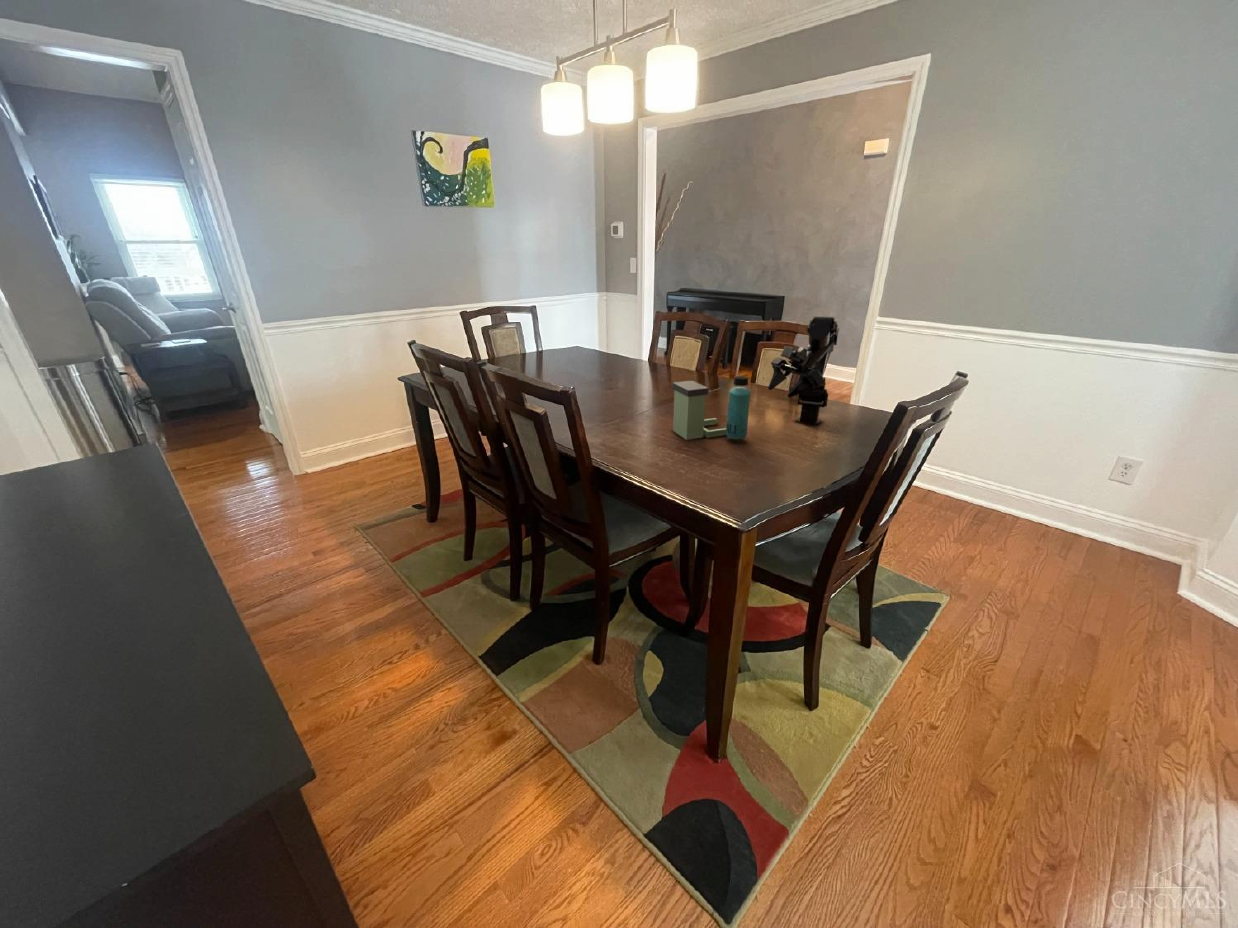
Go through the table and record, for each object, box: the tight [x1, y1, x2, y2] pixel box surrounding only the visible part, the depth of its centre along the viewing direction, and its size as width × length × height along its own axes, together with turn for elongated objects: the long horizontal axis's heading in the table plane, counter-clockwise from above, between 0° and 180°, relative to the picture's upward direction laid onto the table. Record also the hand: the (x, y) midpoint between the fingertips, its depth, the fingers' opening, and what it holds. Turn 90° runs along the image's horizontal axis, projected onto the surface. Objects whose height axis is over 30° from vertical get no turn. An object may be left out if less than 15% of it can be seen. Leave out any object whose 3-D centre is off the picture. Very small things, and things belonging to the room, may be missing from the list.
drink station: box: [672, 380, 727, 441], centre depth 156 cm, size 17×11×16 cm, turn 112°
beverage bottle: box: [725, 375, 752, 440], centre depth 147 cm, size 6×7×20 cm
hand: (778, 393), depth 151 cm, fingers open, 9 cm apart
